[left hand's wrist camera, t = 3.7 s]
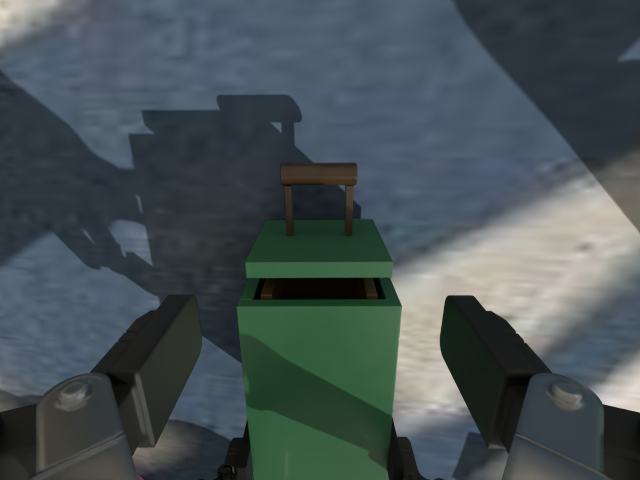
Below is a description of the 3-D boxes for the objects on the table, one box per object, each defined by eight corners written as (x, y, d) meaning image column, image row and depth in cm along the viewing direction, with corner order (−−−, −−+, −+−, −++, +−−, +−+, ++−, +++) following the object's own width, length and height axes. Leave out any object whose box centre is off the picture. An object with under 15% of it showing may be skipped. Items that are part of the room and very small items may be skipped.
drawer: (262, 156, 30) (237, 175, 21) (375, 155, 30) (399, 175, 21) (274, 362, 38) (260, 441, 29) (365, 362, 38) (380, 441, 29)
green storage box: (262, 244, 34) (236, 306, 23) (376, 243, 34) (402, 305, 23) (272, 385, 40) (254, 487, 29) (368, 385, 40) (386, 487, 29)
